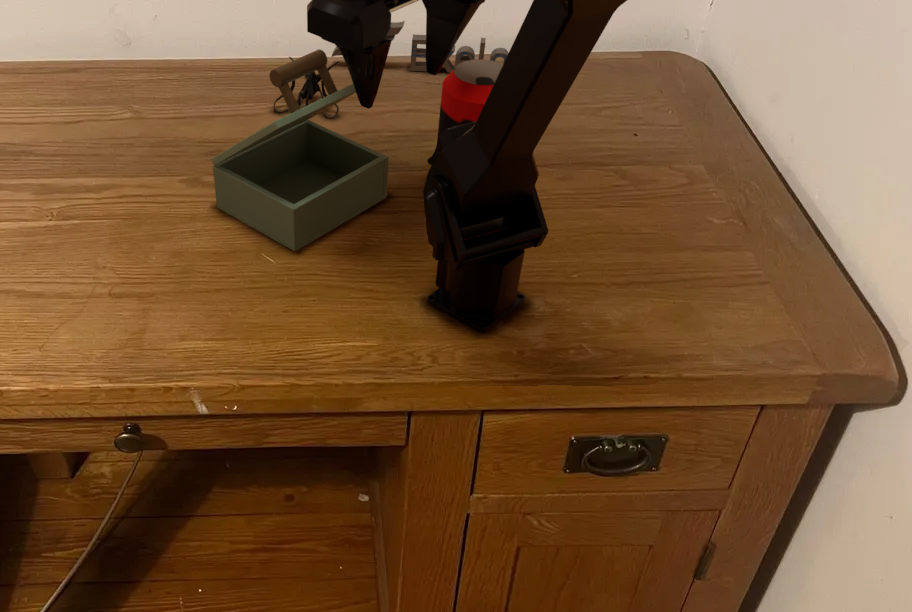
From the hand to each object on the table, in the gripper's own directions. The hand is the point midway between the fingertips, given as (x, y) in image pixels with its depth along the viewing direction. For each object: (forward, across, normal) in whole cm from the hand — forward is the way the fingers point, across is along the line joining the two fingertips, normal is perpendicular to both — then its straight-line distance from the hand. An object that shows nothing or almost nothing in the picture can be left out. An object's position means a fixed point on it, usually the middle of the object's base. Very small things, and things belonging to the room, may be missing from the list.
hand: (400, 89), depth 83 cm
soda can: (+13, -10, +2) cm, 17 cm away
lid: (+5, +5, -9) cm, 11 cm away
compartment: (+13, +5, -8) cm, 16 cm away
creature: (+13, -10, -22) cm, 28 cm away
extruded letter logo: (+13, -28, -18) cm, 36 cm away
